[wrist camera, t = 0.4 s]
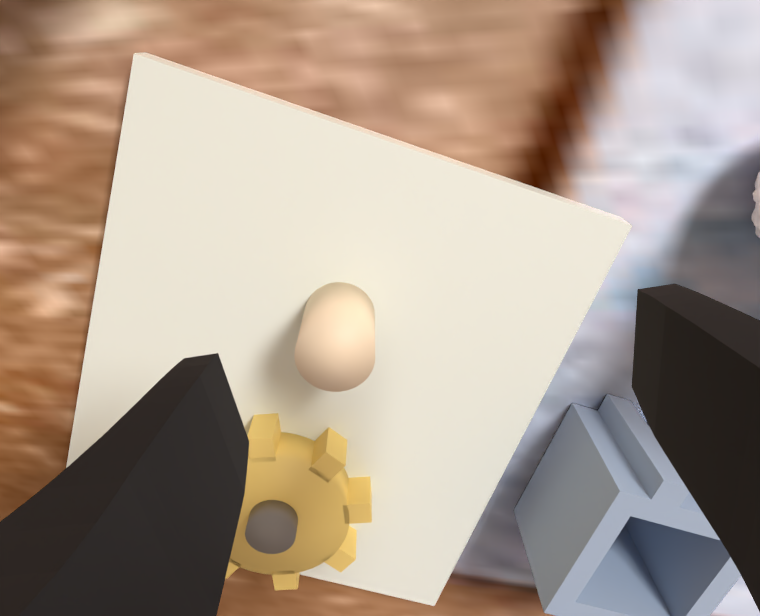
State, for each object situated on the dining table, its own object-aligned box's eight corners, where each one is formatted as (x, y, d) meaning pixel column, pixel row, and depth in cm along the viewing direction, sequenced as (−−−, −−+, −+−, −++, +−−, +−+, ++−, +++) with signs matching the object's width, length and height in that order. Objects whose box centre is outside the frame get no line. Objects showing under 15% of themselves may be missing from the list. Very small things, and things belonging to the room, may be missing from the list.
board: (432, 587, 28) (441, 671, 24) (69, 500, 25) (18, 578, 22) (620, 216, 21) (673, 256, 17) (145, 52, 18) (89, 56, 15)
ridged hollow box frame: (623, 554, 27) (674, 661, 22) (505, 524, 26) (534, 628, 22) (709, 424, 24) (788, 515, 20) (581, 385, 23) (632, 471, 19)
